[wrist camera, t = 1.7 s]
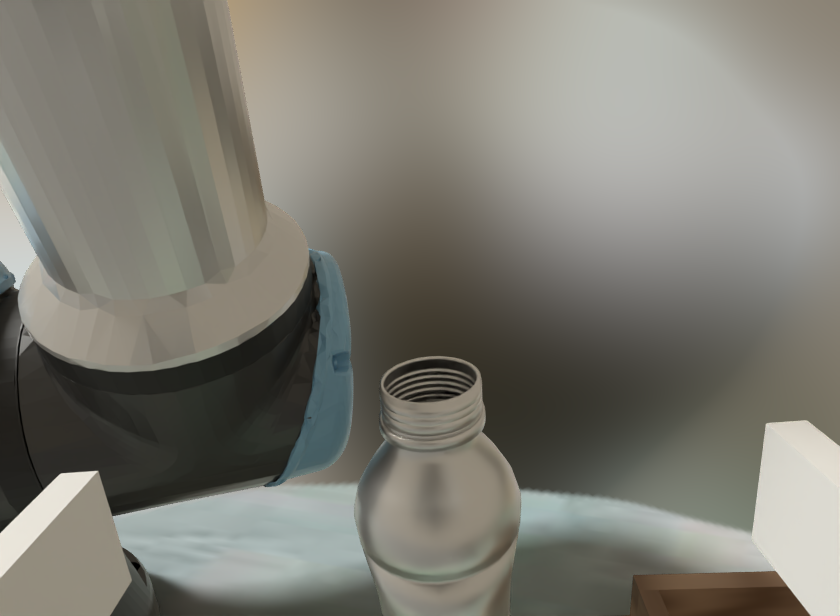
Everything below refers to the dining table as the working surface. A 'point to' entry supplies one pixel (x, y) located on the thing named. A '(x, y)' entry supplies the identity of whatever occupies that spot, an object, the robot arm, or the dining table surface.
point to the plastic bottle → (438, 497)
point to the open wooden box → (714, 595)
